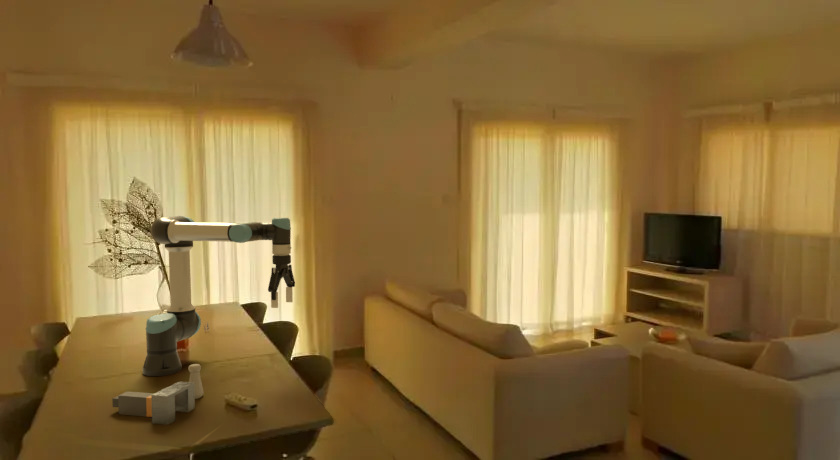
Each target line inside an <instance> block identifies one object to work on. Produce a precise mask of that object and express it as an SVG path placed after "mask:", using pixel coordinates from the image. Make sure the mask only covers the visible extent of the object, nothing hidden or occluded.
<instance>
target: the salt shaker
mask: <svg viewBox="0 0 840 460" xmlns="http://www.w3.org/2000/svg"><path fill="white" fill-rule="evenodd" d="M201 369H202V366H201V365H200V364H199V363H193V364H190V365H188V372H189V373H190V374H189V380H188V382H193V383H194V393H195V400H196V399H197V400H198V399H200V398H202V397H203V396H204V388H203V383H202V377H201V373H200V372H201Z"/></svg>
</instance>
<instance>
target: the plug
mask: <svg viewBox="0 0 840 460" xmlns="http://www.w3.org/2000/svg"><path fill="white" fill-rule="evenodd" d="M152 394H154V393H150V392H142V391H139V392H138V391H127V390H126V391H125V392H123V393H121V394H119V395H117V396H115V397H112V400H111V401H112V408H118V414H119V415H127V416H139V417H151V418H152V399H151V395H152Z"/></svg>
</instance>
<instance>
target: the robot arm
mask: <svg viewBox="0 0 840 460" xmlns="http://www.w3.org/2000/svg"><path fill="white" fill-rule="evenodd" d="M291 230H292V227H291V219H290V218H289V217H273V218H272V219H271V221H269V222H265V221H264V222H263V221H262V222H261V221H251V222H250V221H249V222H246V223H245V222H243V223H239V222H238V223H236V222H235V223H234V222H233V223H232V222H231V223H229V222H195V221H194V219H192V218H190V217H188V216H182V215H177V216H162V217H158V218H156V220H154V221H153V222H152V224H151V226H150V235H151V237H152V239H153V240H154V241H155V243H157V244H161V245H164V249H165V250H167V251H168V269H169V273H168V274H169V294H170V297H169V298H170V299H169V300H170V306H169V307H168V308H166V313H160V314H155V315H152V316H150V317H149V318H148V319H147V320H146V324H145V326H146V327H145V331H146V332H145V336H146V355H145V356H146V357H145V360H144V361H143V362H144V364H143V366H142V375H144V376H147V377H148V376H149V377H163V376H169V375H174V374H176V373H178V372H180V371H181V370H182V368H183V366H182V365H183V364H182V362H181V359H180V355H179V353H178V342H180V341H183V340H187V339H190V338H192V337H194V336H195V335H196V334H197V333H198V332H199V331H200V328H201V325H202V320H201V316H200V315H199V314H198V312H197V311H196V307H195V306H194V305H193V303H192V287H191V286H192V282H191V279H192V278H191V254H190V253H191V250H192V248H193V247H194V242H223V243H224V242H228V243H229V242H230V243H231V242H232V243H239V244H243V243H244V244H245V243H248V242H255V241H271V242H272V243H271V244H272V245H271V246H272V251H271V253H272V257H271V258H272V264H273V265H275V267H271V273H270V277H269V282H268V283H269V284H268V288H267V291H268V292H269V293H270V298H271V299H270V308H273V309H278V308H279V292H278V289H279V285H280V283H281V280H282V279H283V280H284V283H285V285H286V287H285V303H293V302H294V301H293V299H294V298H293V288H294V287H296V282H295V277H294V274H293V267H292V264H291V262H292V257H291V253H292V252H291V249H292V246H291V245H292V243H291V239H292V237H291V236H292V235H291Z"/></svg>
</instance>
